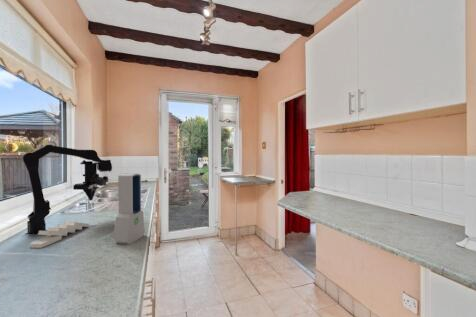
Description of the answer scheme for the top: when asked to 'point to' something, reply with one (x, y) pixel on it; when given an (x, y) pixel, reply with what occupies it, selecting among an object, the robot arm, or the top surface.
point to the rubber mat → (76, 233)
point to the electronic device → (129, 209)
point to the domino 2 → (45, 241)
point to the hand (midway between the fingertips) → (91, 200)
